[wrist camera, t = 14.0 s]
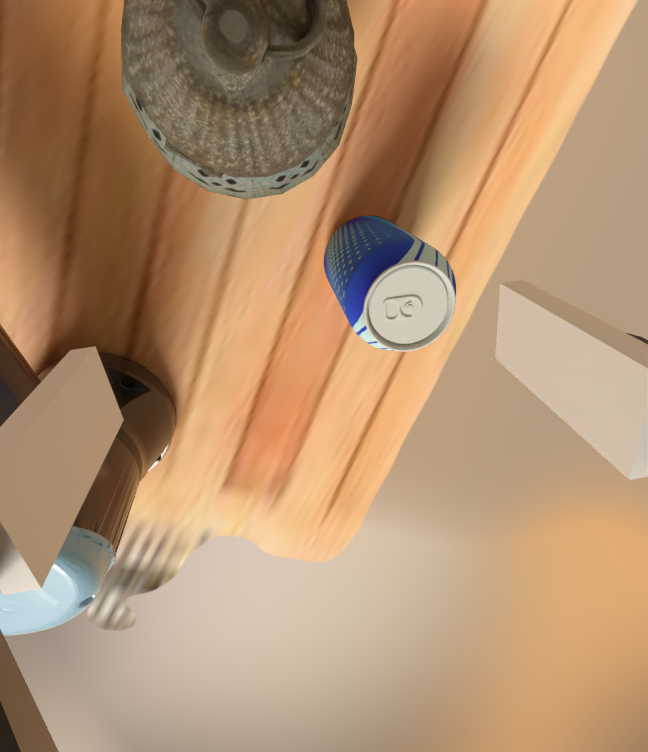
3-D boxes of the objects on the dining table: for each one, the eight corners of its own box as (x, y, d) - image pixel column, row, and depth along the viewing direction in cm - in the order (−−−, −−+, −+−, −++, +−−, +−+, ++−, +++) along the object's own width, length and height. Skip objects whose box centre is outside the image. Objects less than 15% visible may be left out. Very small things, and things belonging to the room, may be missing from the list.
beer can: (354, 195, 43) (401, 221, 29) (420, 244, 46) (492, 289, 32) (306, 270, 46) (327, 327, 31) (371, 312, 49) (418, 381, 34)
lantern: (120, 48, 36) (-102, -103, 14) (277, -53, 34) (312, -407, 12) (220, 214, 42) (177, 291, 20) (356, 135, 41) (471, 124, 19)
